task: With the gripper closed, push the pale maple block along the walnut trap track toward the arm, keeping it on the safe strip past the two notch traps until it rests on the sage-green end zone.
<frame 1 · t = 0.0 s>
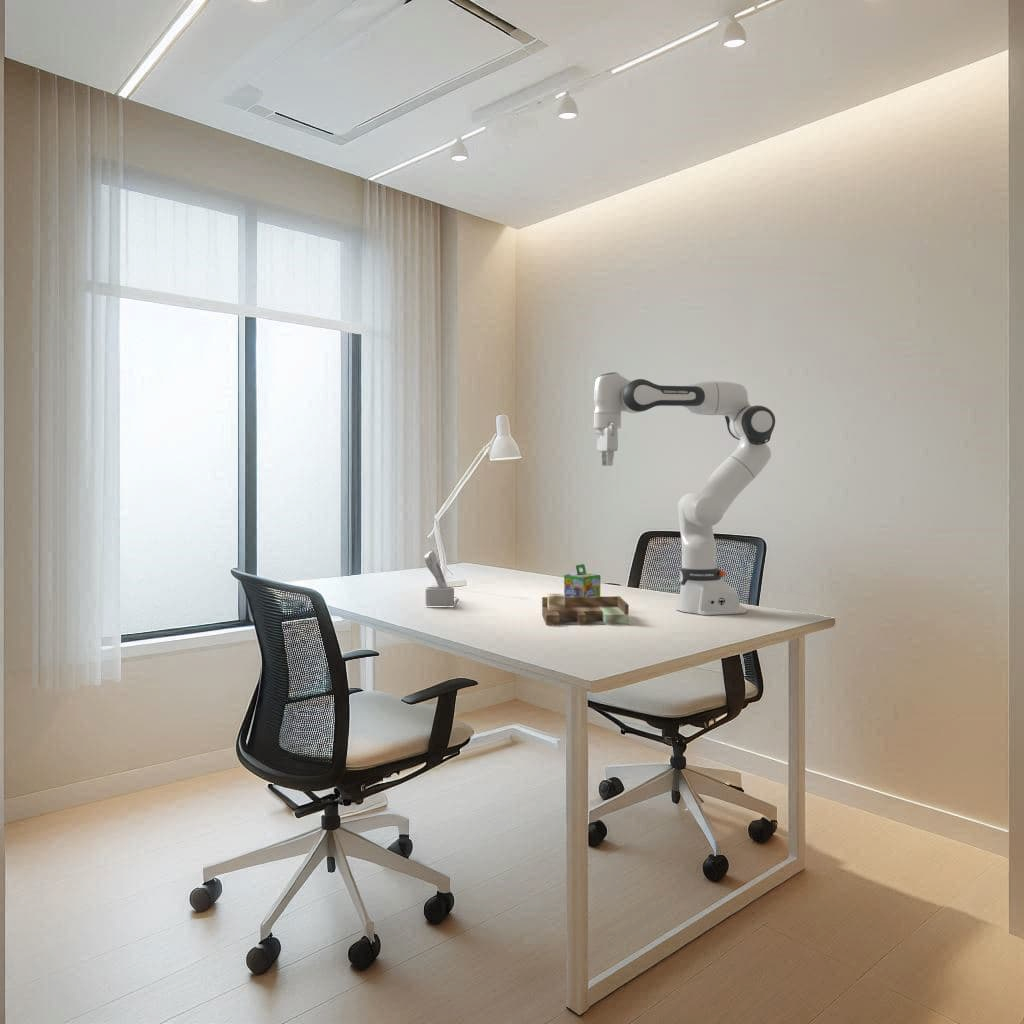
hand: (607, 465, 253), 48 cm above the table, tool pointing down, fingers open, 8 cm apart
chalk box: (582, 609, 260), on the table
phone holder: (441, 603, 271), on the table
maple block: (556, 609, 243), point 3 cm above the table, touching trap track
trap track: (584, 619, 241), on the table
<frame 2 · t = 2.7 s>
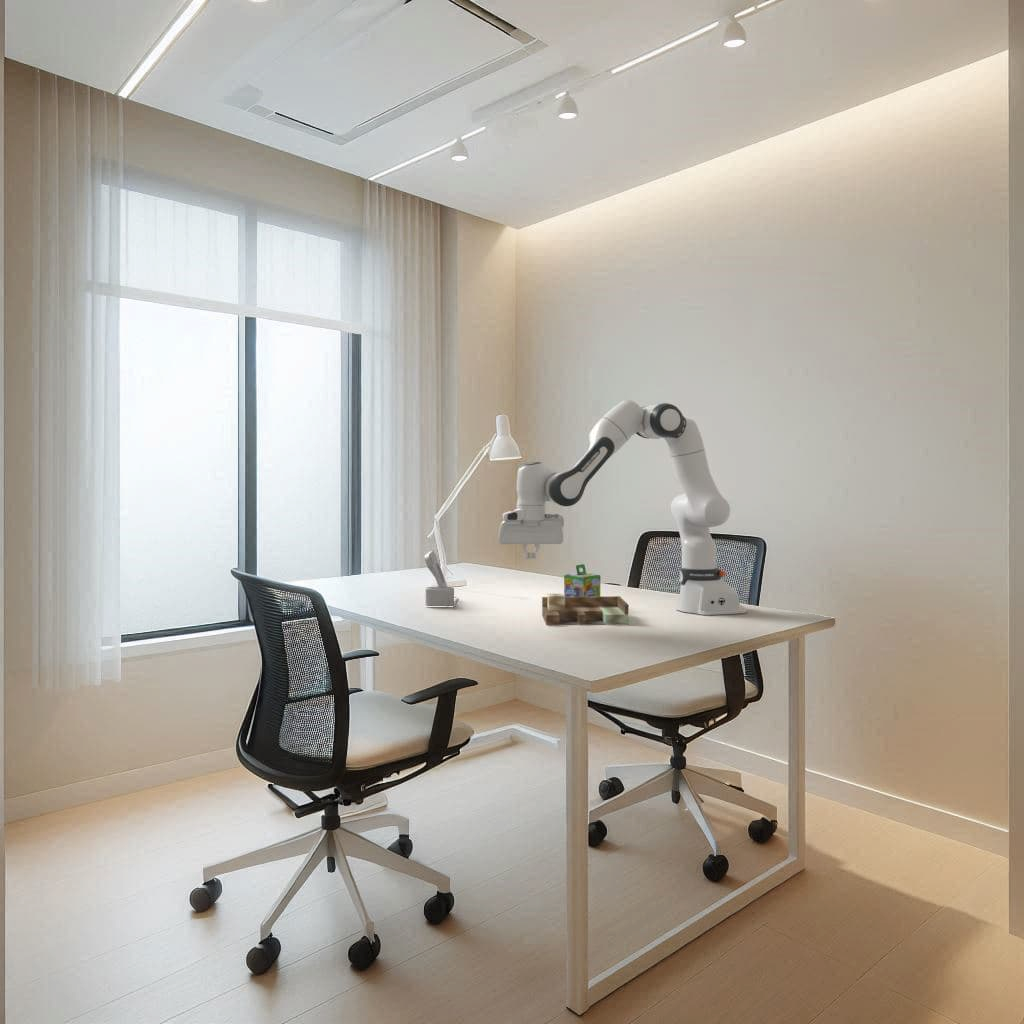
hand: (530, 558, 242), 19 cm above the table, tool pointing down, fingers closed
nothing on the table moved.
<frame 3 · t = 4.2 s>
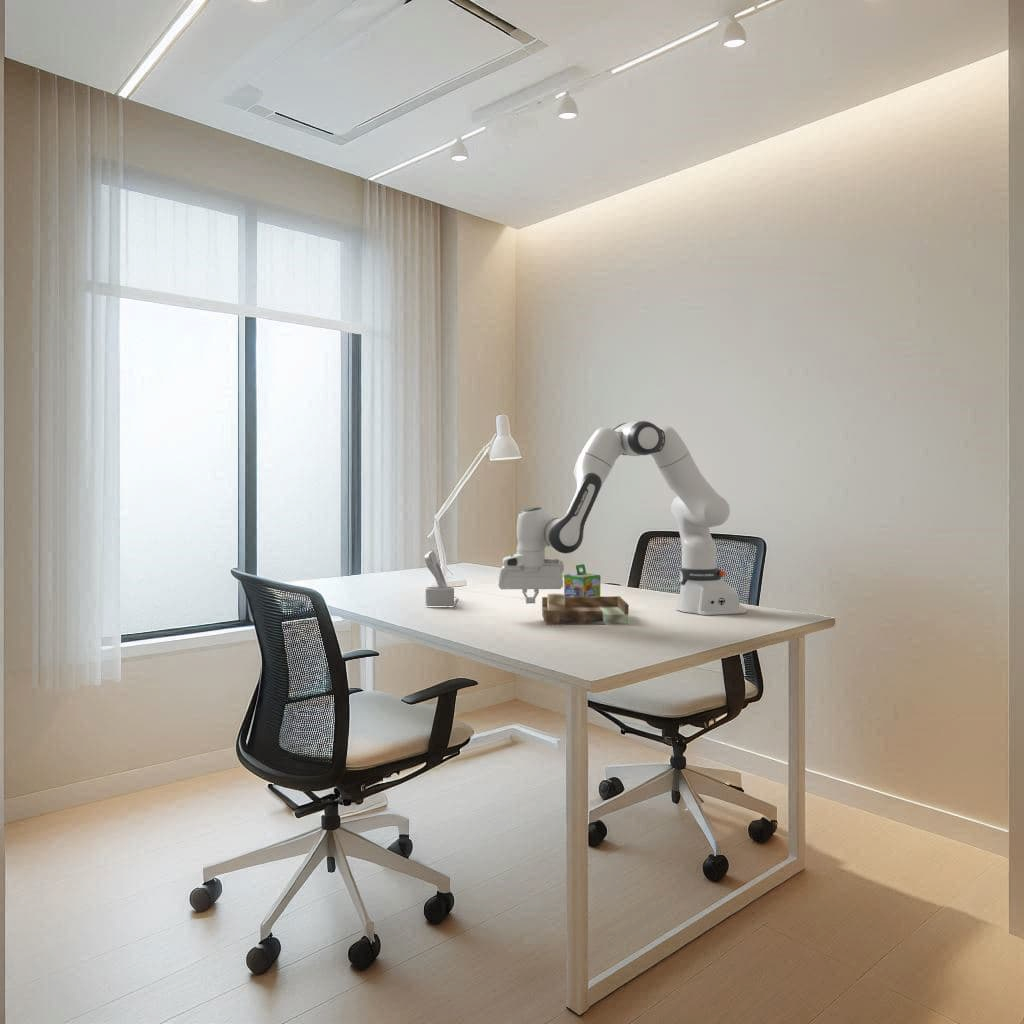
hand: (530, 603, 243), 5 cm above the table, tool pointing down, fingers closed
nothing on the table moved.
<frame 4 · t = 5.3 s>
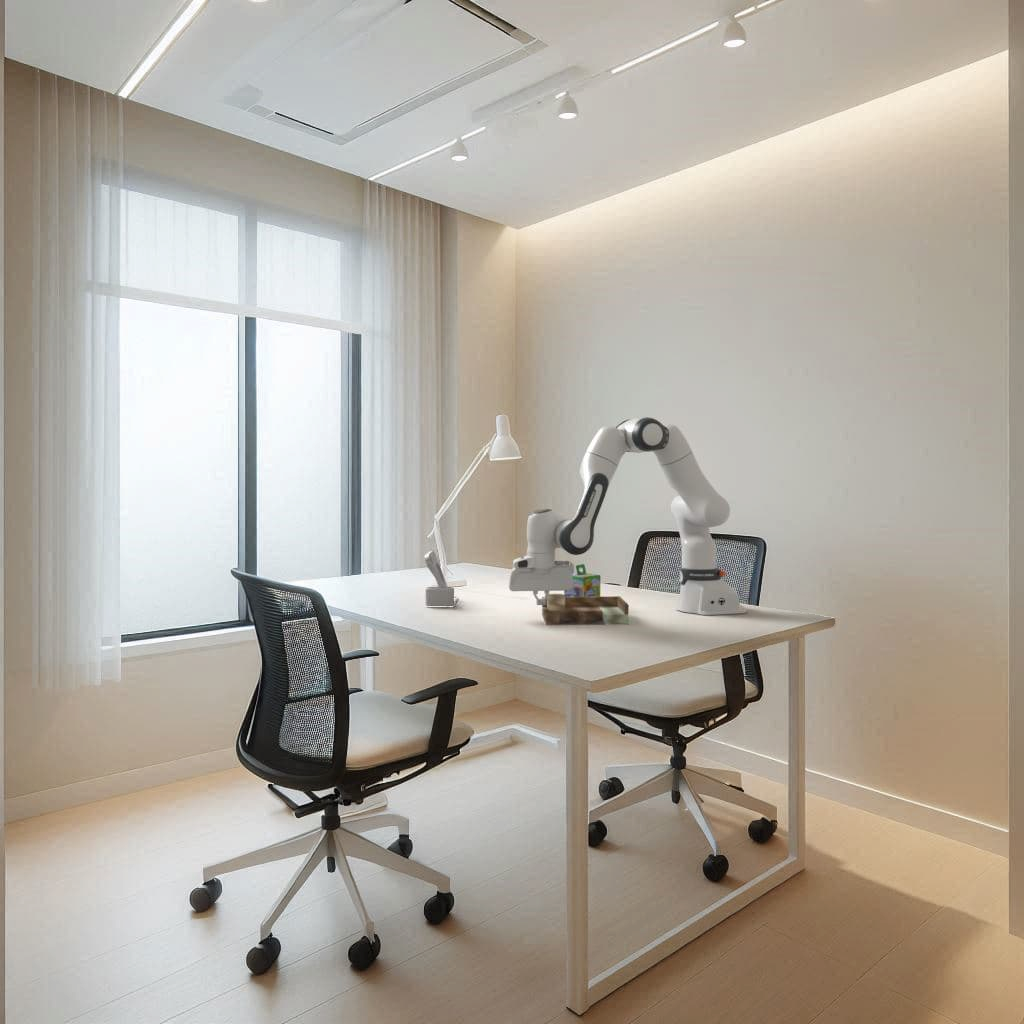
hand: (541, 604, 243), 4 cm above the table, tool pointing down, fingers closed
maple block: (556, 609, 243), point 3 cm above the table, touching gripper, trap track
everything else where it was.
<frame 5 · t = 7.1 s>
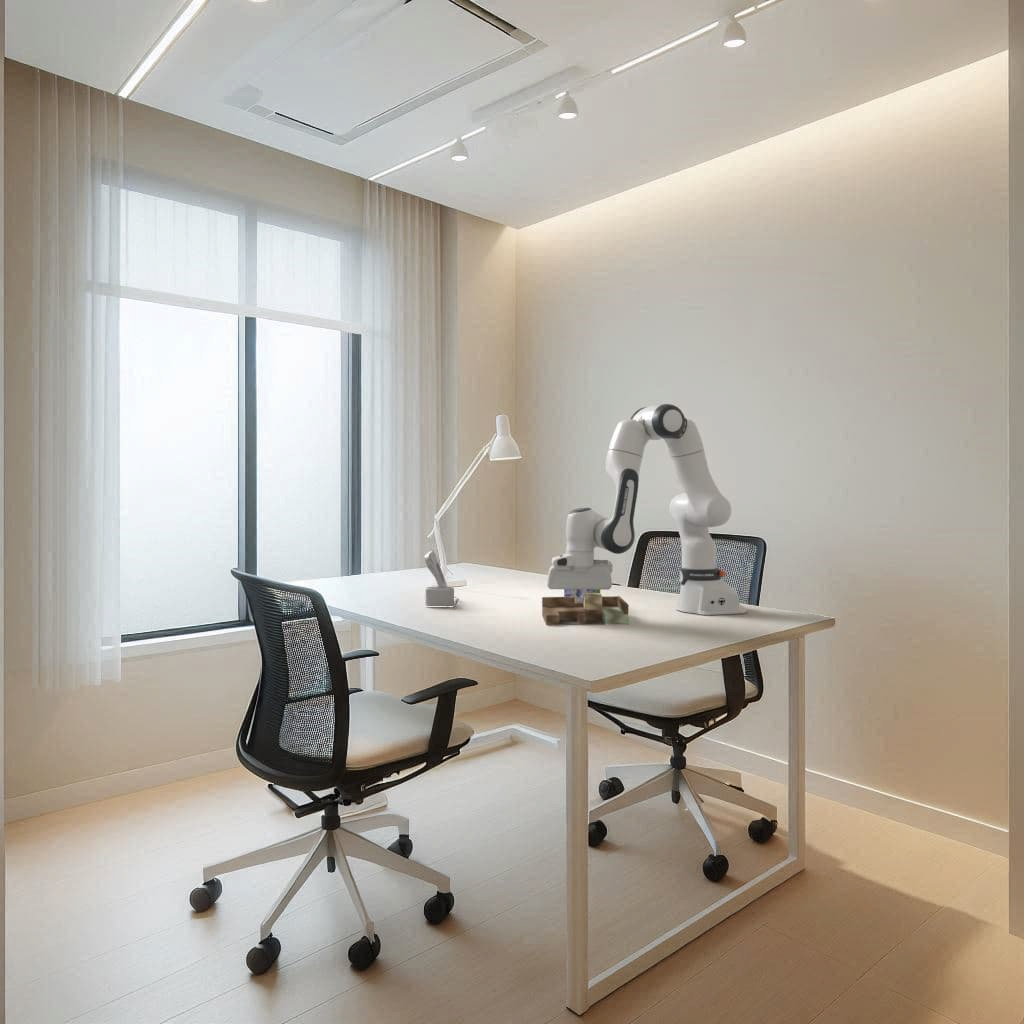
hand: (578, 603, 243), 5 cm above the table, tool pointing down, fingers closed
maple block: (592, 608, 244), point 3 cm above the table, touching gripper, trap track
everything else where it was.
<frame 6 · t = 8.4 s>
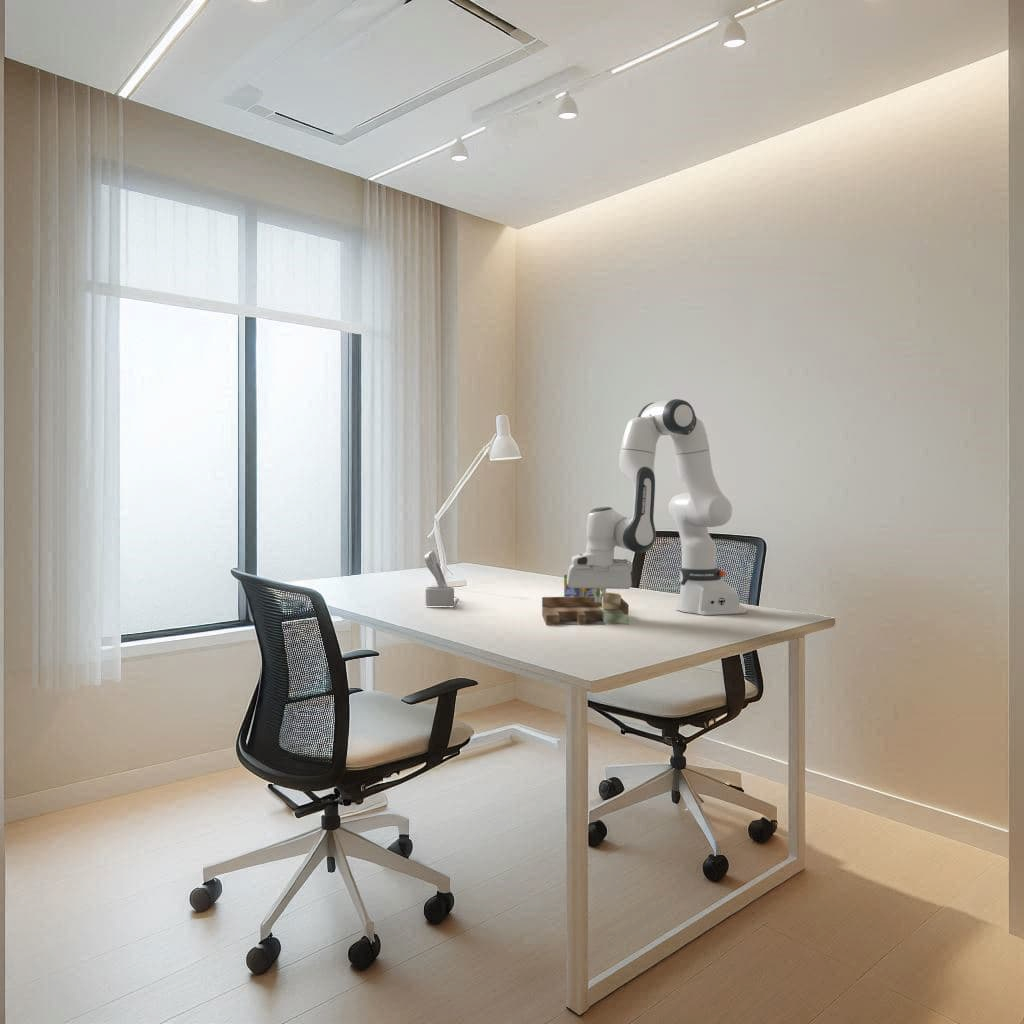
hand: (598, 602, 244), 5 cm above the table, tool pointing down, fingers closed
maple block: (610, 608, 244), point 3 cm above the table, touching gripper, trap track
everything else where it was.
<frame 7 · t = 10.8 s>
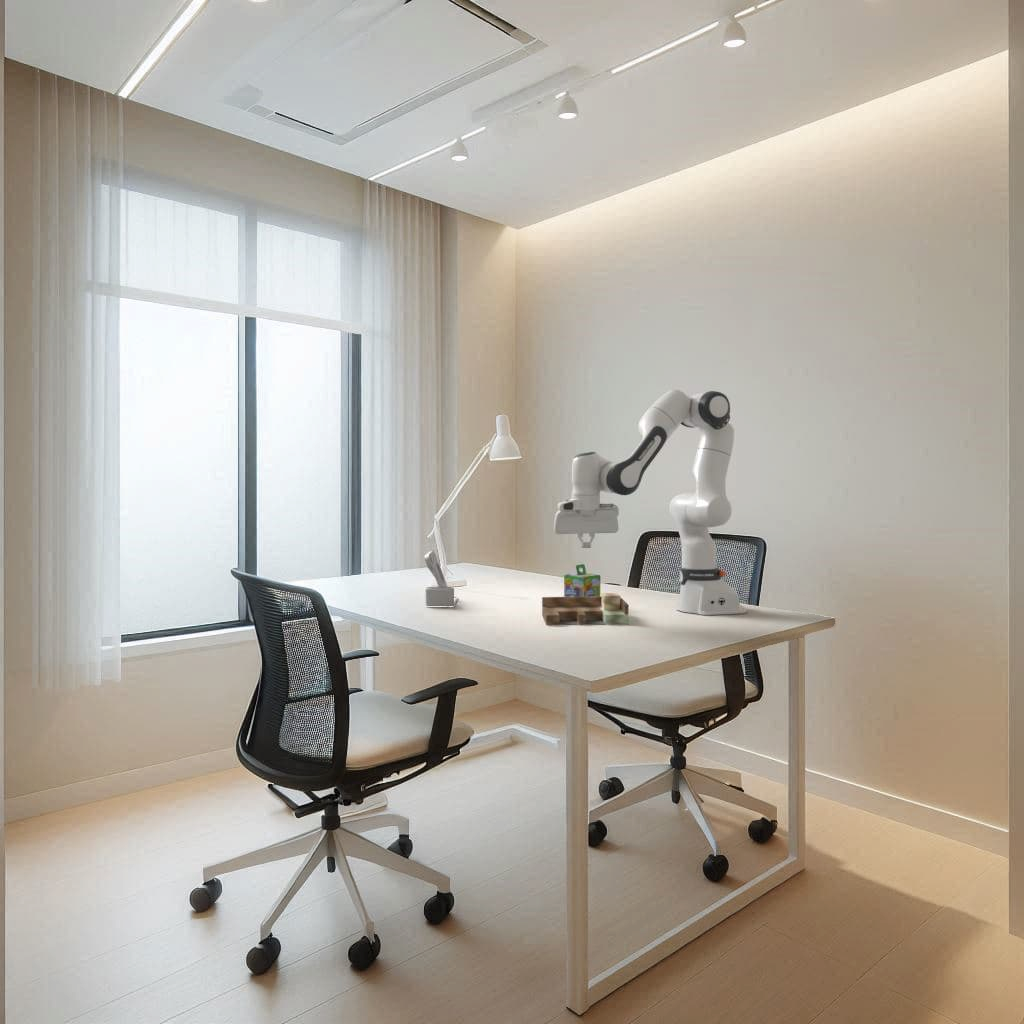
hand: (586, 547, 244), 22 cm above the table, tool pointing down, fingers closed
maple block: (610, 608, 244), point 3 cm above the table, touching trap track
everything else where it was.
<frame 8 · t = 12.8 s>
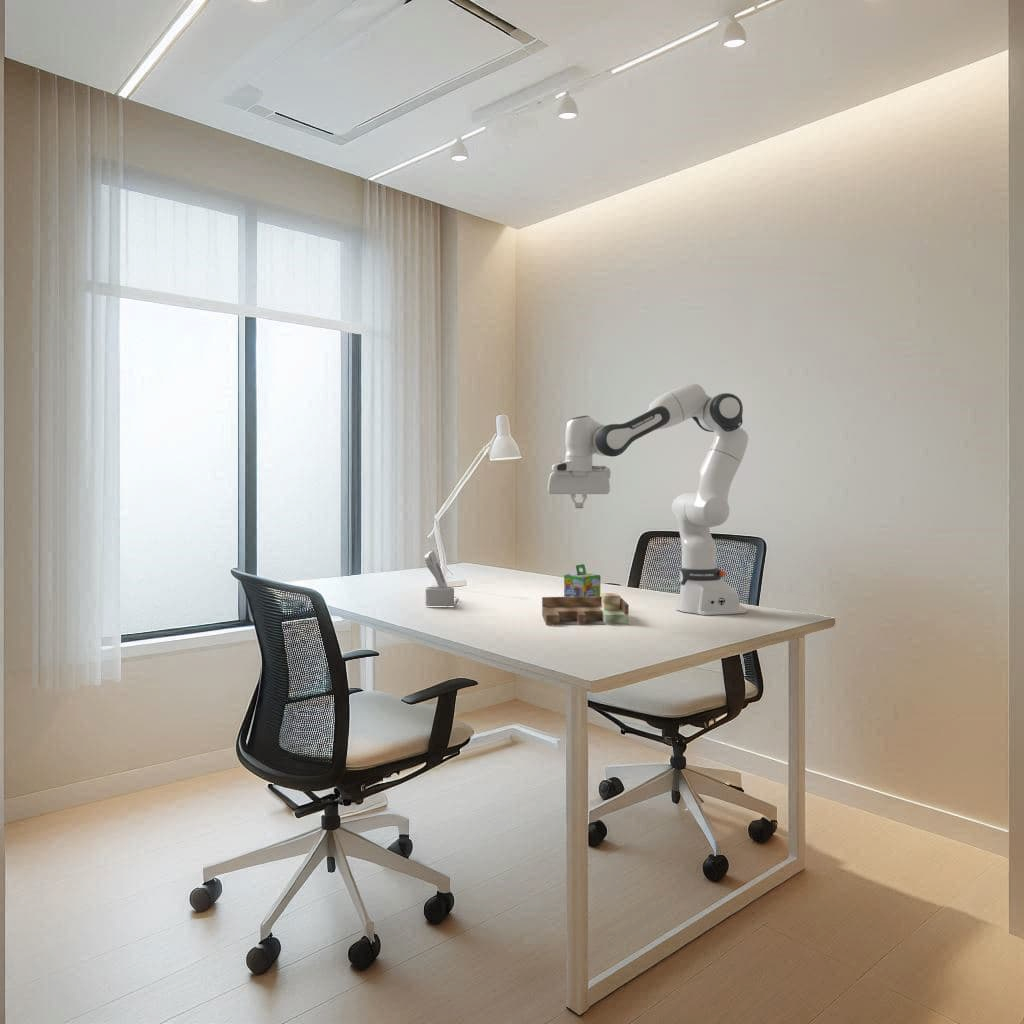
hand: (578, 508, 253), 34 cm above the table, tool pointing down, fingers closed
nothing on the table moved.
at the end: maple block 0.8 cm from the target spot, point 3.0 cm above the table; maple block tilted 0° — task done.
